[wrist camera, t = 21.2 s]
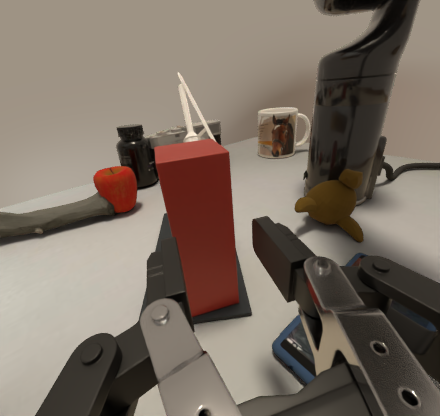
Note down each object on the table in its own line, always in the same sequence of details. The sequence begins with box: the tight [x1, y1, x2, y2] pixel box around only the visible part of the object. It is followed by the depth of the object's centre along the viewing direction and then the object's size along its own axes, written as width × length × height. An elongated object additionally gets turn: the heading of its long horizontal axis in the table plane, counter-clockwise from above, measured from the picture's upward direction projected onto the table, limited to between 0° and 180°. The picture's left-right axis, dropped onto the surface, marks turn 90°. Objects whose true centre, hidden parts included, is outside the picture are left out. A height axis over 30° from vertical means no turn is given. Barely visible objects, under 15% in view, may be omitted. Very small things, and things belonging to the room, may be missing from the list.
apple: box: [94, 166, 137, 213], centre depth 38 cm, size 6×6×8 cm
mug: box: [258, 108, 310, 158], centre depth 59 cm, size 10×12×11 cm
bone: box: [0, 192, 115, 238], centre depth 35 cm, size 22×6×6 cm, turn 110°
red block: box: [154, 139, 239, 317], centre depth 19 cm, size 4×4×14 cm
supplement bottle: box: [116, 125, 157, 187], centre depth 48 cm, size 7×7×12 cm
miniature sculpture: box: [178, 72, 216, 143], centre depth 46 cm, size 6×9×25 cm
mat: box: [139, 213, 252, 324], centre depth 28 cm, size 10×20×1 cm, turn 6°
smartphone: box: [272, 253, 436, 384], centre depth 18 cm, size 8×1×15 cm
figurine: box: [295, 169, 363, 242], centre depth 29 cm, size 8×8×6 cm
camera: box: [145, 120, 221, 179], centre depth 53 cm, size 20×11×10 cm, turn 127°
